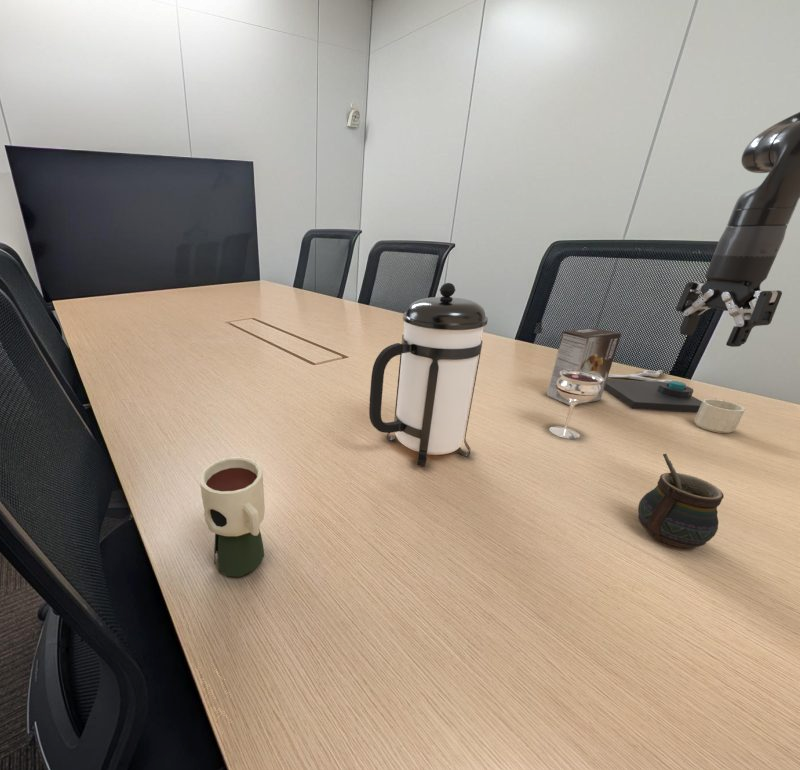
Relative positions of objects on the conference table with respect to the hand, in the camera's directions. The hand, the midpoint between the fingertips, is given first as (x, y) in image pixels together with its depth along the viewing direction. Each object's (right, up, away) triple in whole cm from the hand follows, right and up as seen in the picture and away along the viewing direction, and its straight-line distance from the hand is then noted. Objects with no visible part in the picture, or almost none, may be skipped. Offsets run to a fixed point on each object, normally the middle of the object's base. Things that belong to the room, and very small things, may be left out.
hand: (708, 340), depth 73 cm
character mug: (-89, -31, -26) cm, 98 cm away
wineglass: (-28, -18, 0) cm, 34 cm away
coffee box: (-16, -12, +15) cm, 25 cm away
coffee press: (-58, -21, -4) cm, 62 cm away
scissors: (+7, -7, +25) cm, 27 cm away
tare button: (+6, -10, +12) cm, 16 cm away
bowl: (+2, -17, +1) cm, 17 cm away
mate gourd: (-33, -29, -24) cm, 50 cm away
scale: (+2, -12, +14) cm, 18 cm away
